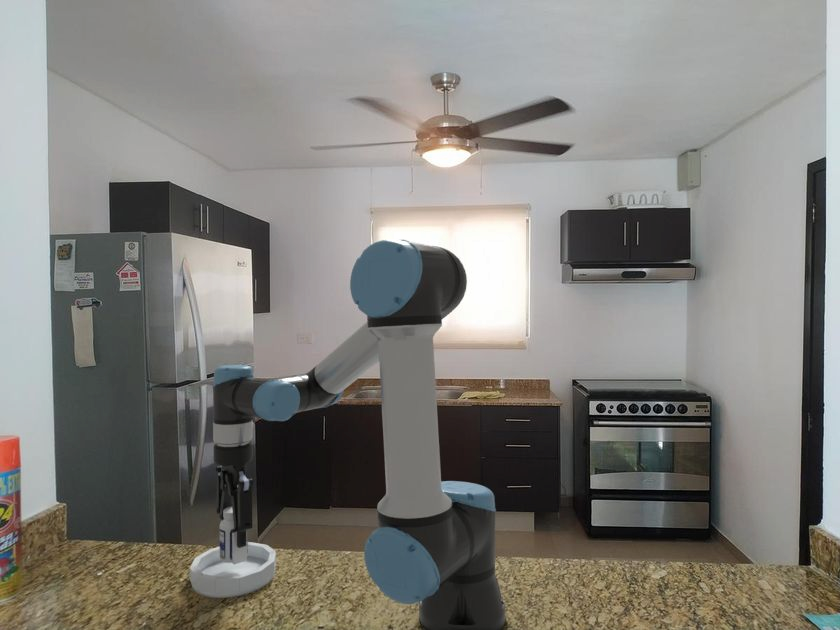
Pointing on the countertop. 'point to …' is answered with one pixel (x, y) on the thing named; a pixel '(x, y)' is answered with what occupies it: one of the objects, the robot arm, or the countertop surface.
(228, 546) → the pill bottle
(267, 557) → the dish
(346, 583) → the countertop surface
